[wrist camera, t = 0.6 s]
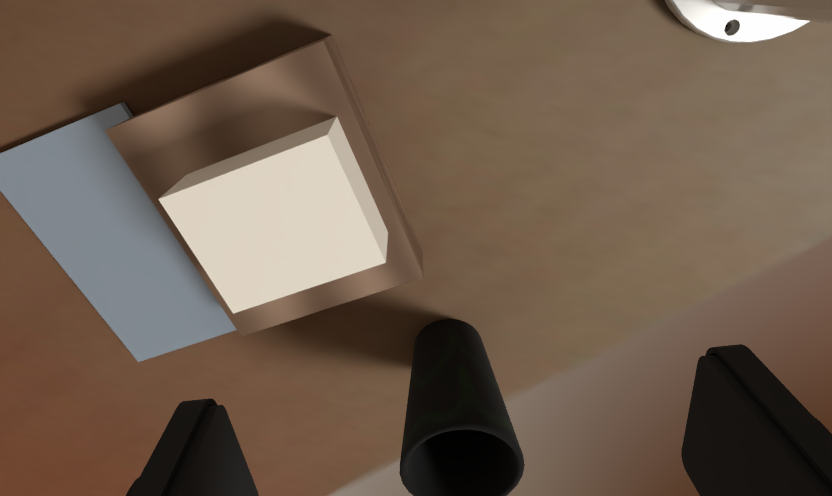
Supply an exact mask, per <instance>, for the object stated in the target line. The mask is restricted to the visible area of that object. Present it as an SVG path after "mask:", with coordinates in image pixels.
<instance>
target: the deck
mask: <svg viewBox="0 0 832 496" xmlns="http://www.w3.org/2000/svg"><path fill="white" fill-rule="evenodd" d="M334 117H337V118H338V120H339V122H340V125H341V127H342V129H343V131H344V134H345V136H346V138H347V140H348V143H349V145H350V147H351V150H352V152H353V154H354V156H355V159H356V161H357V163H358V165H359V168H360V170H361V172H362V174H363V177H364V179H365V181H366V184H367V186H368V188H369V190H370V193H371V195H372V197H373V199H374V202H375V204H376V206H377V208H378V211H379V213H380V215H381V218H382V220H383V222H384V224H385V227H386V229H387V231H388V241H387V254H386V263H384V264H381V265H378V266H375V267H372V268H369V269H366V270H363V271H360V272H357V273H354V274H351V275H348V276H345V277H342V278H339V279H336V280H333V281H330V282H327V283H324V284H321V285H318V286H315V287H312V288H309V289H306V290H303V291H300V292H297V293H294V294H291V295H288V296H285V297H282V298H279V299H276V300H273V301H270V302H267V303H264V304H261V305H258V306H255V307H252V308H249V309H246V310H243V311H240V312H237V313H234V314H233V313H232V311H231V310H230V308H229V306H228V305H227V303H226V302H225V300H224V299H223V297H222V296H221V294H220V293H219V291H218V290H217V288H216V287H215V285H214V284H213V282H212V281H211V279H210V277H209V276H208V274H207V273H206V271H205V270H204V268H203V267H202V265H201V264H200V262H199V261H198V259H197V258H196V256H195V255H194V253H193V251H192V250H191V248H190V247H189V245H188V244H187V242H186V241H185V239H184V238H183V236H182V235H181V233H180V232H179V230H178V229H177V227H176V226H175V224H174V222H173V221H172V219H171V218H170V216H169V215H168V213H167V212H166V210H165V209H164V207H163V206H162V204H161V203H160V201H159V200H158V199H159V198H160V197H161V196H163V195H164V194H165V193H166V192H167V191H168V190H169V189H171V188H172V187H173V186H174V185H175V184H176V183H177V182H179V181H180V180H181V179H182V178H183V177H184V176H185V175H187V174H189V173H192V172H194V171H197V170H199V169H202V168H205V167H207V166H210V165H212V164H215V163H218V162H220V161H223V160H225V159H228V158H231V157H233V156H236V155H238V154H241V153H243V152H246V151H249V150H251V149H254V148H256V147H259V146H262V145H264V144H267V143H269V142H272V141H275V140H277V139H280V138H282V137H285V136H288V135H290V134H293V133H295V132H298V131H301V130H303V129H306V128H308V127H311V126H314V125H316V124H319V123H321V122H324V121H326V120H329V119H332V118H334ZM105 132H106V133H107V135H108V136H109V138H110V139H111V141H112V142H113V144H114V145H115V147H116V148H117V150H118V151H119V153H120V154H121V156H122V157H123V159H124V160H125V162H126V164H127V165H128V167H129V168H130V170H131V171H132V173H133V174H134V176H135V177H136V179H137V180H138V182H139V183H140V185H141V186H142V188H143V189H144V191H145V192H146V194H147V195H148V197H149V198H150V200H151V201H152V203H153V204H154V206H155V207H156V209H157V210H158V212H159V213H160V215H161V216H162V218H163V219H164V221H165V222H166V224H167V225H168V227H169V228H170V230H171V231H172V233H173V234H174V236H175V237H176V239H177V240H178V242H179V243H180V245H181V246H182V248H183V250H184V251H185V253H186V254H187V256H188V257H189V259H190V260H191V262H192V263H193V265H194V266H195V268H196V269H197V271H198V272H199V274H200V275H201V277H202V278H203V280H204V281H205V283H206V284H207V286H208V287H209V289H210V290H211V292H212V293H213V295H214V296H215V298H216V299H217V301H218V302H219V304H220V305H221V307H222V308H223V310H224V311H225V313H226V314H227V316H228V317H229V319H230V320H231V322H232V323H233V325H234V326H235V328H236V329H237V331H238V332H239V334H240V336H241V337H242V336H245V335H248V334H251V333H254V332H257V331H260V330H263V329H266V328H269V327H273V326H276V325H279V324H282V323H285V322H288V321H291V320H294V319H297V318H300V317H303V316H306V315H309V314H312V313H316V312H319V311H322V310H325V309H328V308H331V307H334V306H337V305H340V304H343V303H346V302H349V301H352V300H356V299H359V298H362V297H365V296H368V295H371V294H374V293H377V292H380V291H383V290H386V289H389V288H392V287H396V286H399V285H402V284H405V283H408V282H411V281H414V280H417V279H420V278H423V277H424V275H423V257H422V251H421V249H420V246H419V244H418V242H417V239H416V237H415V234H414V232H413V230H412V227H411V225H410V222H409V220H408V217H407V215H406V213H405V210H404V208H403V205H402V203H401V201H400V198H399V196H398V193H397V191H396V189H395V186H394V184H393V181H392V179H391V176H390V174H389V172H388V169H387V167H386V164H385V162H384V160H383V157H382V155H381V152H380V150H379V148H378V145H377V143H376V140H375V138H374V135H373V133H372V131H371V128H370V126H369V123H368V121H367V119H366V116H365V114H364V111H363V109H362V107H361V104H360V102H359V99H358V97H357V95H356V92H355V90H354V87H353V85H352V82H351V80H350V78H349V75H348V73H347V70H346V68H345V66H344V63H343V61H342V58H341V56H340V54H339V51H338V49H337V46H336V44H335V41H334V39H333V37H332V35H329V36H327V37H325V38H322V39H320V40H317V41H315V42H312V43H310V44H308V45H305V46H303V47H300V48H298V49H295V50H293V51H291V52H288V53H286V54H283V55H281V56H278V57H276V58H274V59H271V60H269V61H266V62H264V63H262V64H259V65H257V66H254V67H252V68H249V69H247V70H245V71H242V72H240V73H237V74H235V75H232V76H230V77H228V78H225V79H223V80H220V81H218V82H215V83H213V84H211V85H208V86H206V87H203V88H201V89H198V90H196V91H194V92H191V93H189V94H186V95H184V96H181V97H179V98H177V99H174V100H172V101H169V102H167V103H165V104H162V105H160V106H157V107H155V108H152V109H150V110H148V111H145V112H143V113H140V114H138V115H135V116H133V117H131V118H129V119H127V120H125V121H123V122H121V123H119V124H117V125H115V126H113V127H111V128H109V129H107V130H105Z"/></svg>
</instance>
